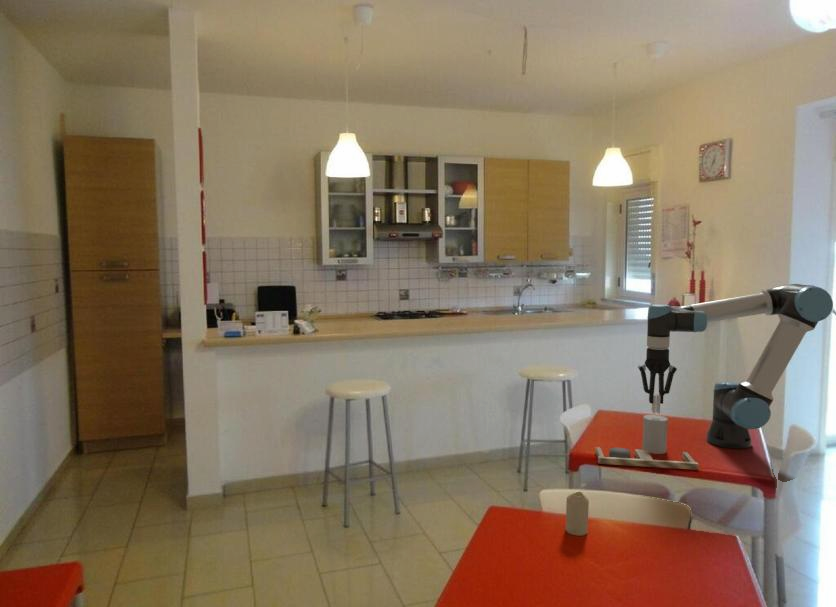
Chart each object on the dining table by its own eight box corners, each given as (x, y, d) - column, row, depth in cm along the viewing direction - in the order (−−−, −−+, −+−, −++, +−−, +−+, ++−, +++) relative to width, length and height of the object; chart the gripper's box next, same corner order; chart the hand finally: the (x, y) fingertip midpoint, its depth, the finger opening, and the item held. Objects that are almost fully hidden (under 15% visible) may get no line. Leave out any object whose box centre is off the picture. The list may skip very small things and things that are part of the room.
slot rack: (688, 457, 211) (688, 452, 210) (698, 469, 199) (698, 463, 199) (594, 452, 215) (594, 446, 215) (598, 463, 204) (598, 457, 204)
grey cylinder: (662, 446, 222) (663, 415, 221) (669, 454, 214) (670, 421, 213) (639, 445, 223) (640, 414, 222) (645, 453, 215) (647, 420, 214)
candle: (572, 524, 159) (574, 487, 158) (591, 531, 155) (592, 493, 155) (561, 530, 156) (562, 493, 155) (580, 538, 152) (581, 500, 151)
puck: (628, 456, 212) (628, 448, 212) (631, 463, 205) (632, 455, 205) (607, 455, 213) (608, 446, 213) (610, 462, 206) (610, 453, 206)
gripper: (675, 346, 217) (673, 410, 220) (635, 345, 220) (633, 408, 222) (681, 349, 210) (678, 415, 212) (639, 349, 212) (637, 414, 214)
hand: (655, 412), depth 217 cm, fingers closed
